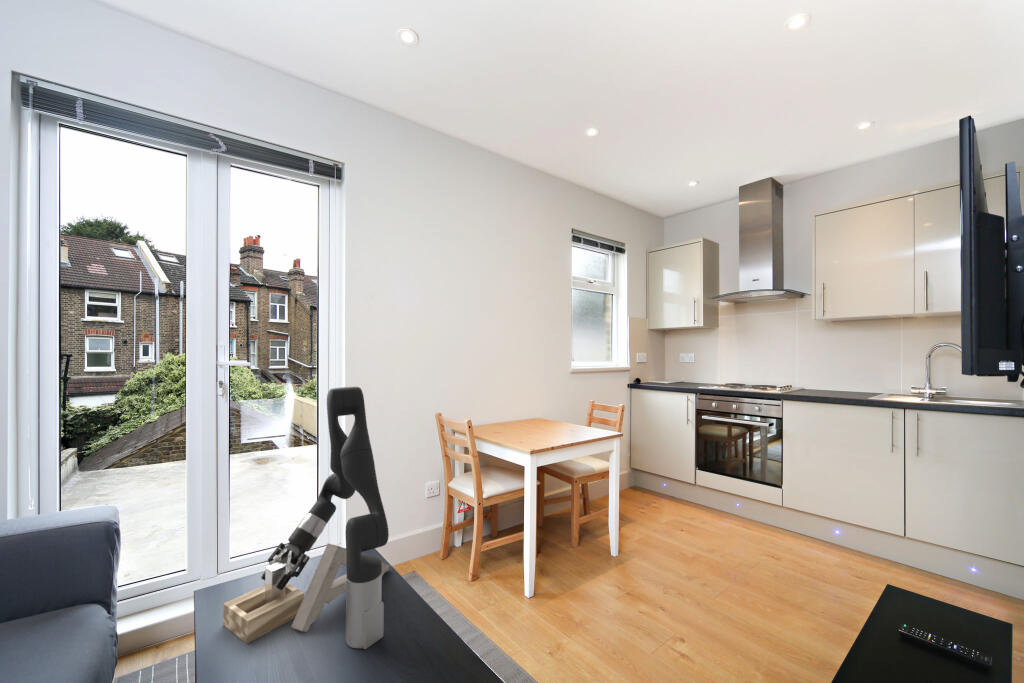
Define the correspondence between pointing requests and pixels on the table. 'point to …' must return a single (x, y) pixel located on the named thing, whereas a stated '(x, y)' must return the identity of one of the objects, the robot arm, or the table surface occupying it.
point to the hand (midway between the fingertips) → (270, 584)
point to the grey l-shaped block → (274, 581)
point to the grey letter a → (324, 586)
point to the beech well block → (260, 612)
